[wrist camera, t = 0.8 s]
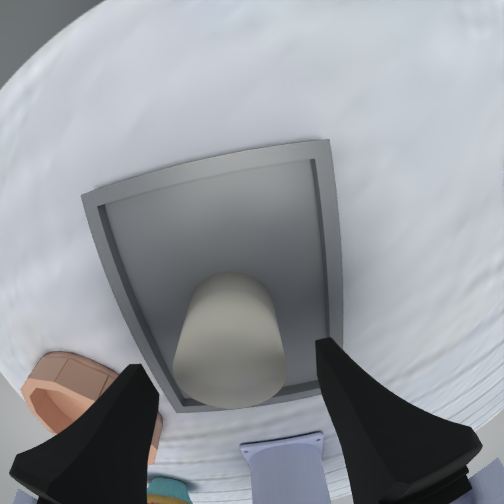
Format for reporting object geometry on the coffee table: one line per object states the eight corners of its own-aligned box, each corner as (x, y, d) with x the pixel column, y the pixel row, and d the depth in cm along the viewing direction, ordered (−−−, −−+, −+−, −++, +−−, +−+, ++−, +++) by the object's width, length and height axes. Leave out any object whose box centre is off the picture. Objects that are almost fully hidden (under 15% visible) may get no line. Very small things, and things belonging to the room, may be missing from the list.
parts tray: (335, 376, 18) (340, 389, 17) (179, 399, 18) (176, 412, 17) (320, 139, 12) (329, 138, 11) (93, 190, 13) (80, 195, 11)
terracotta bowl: (182, 443, 21) (179, 471, 18) (83, 433, 21) (75, 455, 18) (120, 350, 16) (103, 385, 13) (17, 350, 17) (0, 372, 13)
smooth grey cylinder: (278, 334, 16) (291, 400, 11) (202, 346, 16) (193, 412, 11) (266, 264, 14) (280, 322, 9) (179, 280, 14) (155, 340, 9)
